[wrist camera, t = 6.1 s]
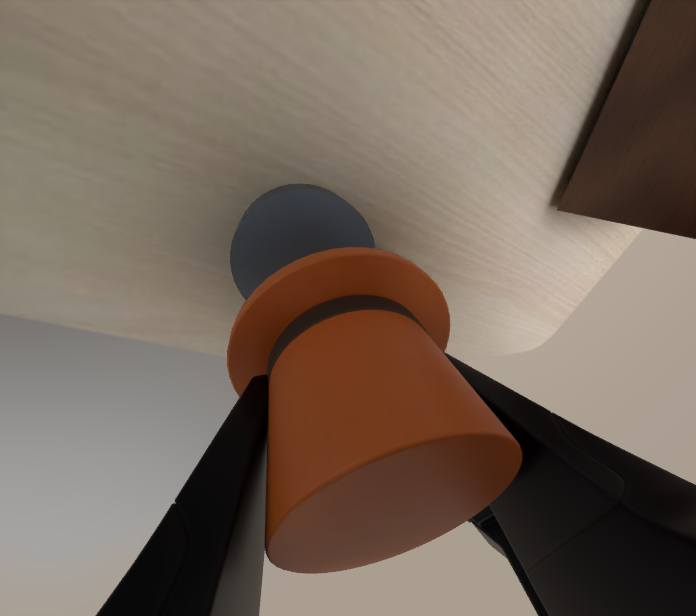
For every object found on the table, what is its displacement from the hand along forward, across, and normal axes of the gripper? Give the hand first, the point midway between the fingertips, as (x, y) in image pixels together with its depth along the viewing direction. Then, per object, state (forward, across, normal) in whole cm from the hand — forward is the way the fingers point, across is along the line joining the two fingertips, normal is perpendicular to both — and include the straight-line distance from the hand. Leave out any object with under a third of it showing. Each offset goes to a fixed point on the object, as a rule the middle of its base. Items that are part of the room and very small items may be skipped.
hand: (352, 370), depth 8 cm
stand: (+12, 0, 0) cm, 12 cm away
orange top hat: (+1, 0, 0) cm, 1 cm away
